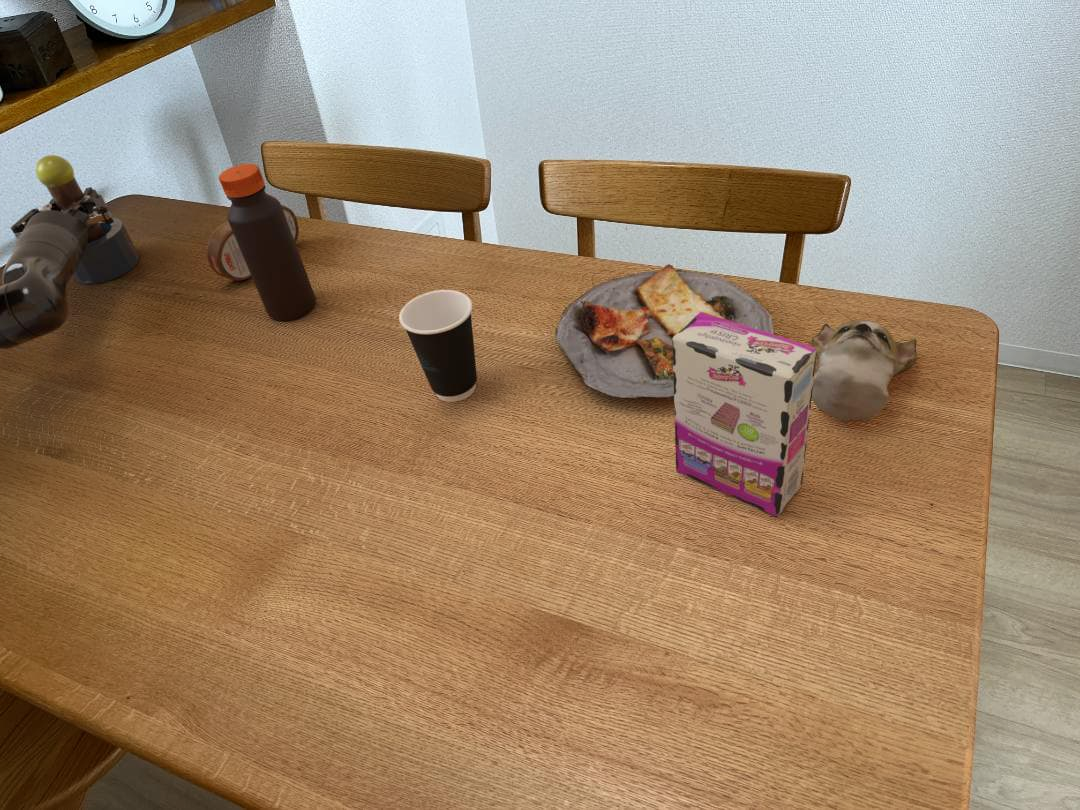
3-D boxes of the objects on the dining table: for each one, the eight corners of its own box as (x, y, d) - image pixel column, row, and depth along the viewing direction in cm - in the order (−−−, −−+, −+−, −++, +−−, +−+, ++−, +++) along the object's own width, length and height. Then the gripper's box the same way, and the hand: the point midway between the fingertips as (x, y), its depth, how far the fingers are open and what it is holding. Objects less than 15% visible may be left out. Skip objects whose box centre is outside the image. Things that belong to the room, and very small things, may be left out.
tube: (98, 289, 122) (79, 255, 119) (61, 277, 127) (41, 243, 123) (152, 257, 128) (135, 223, 124) (114, 246, 133) (97, 213, 129)
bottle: (327, 299, 112) (277, 163, 99) (293, 326, 108) (236, 188, 95) (292, 290, 115) (240, 157, 102) (257, 316, 111) (198, 181, 98)
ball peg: (96, 264, 124) (40, 165, 113) (78, 258, 126) (22, 161, 115) (122, 249, 126) (70, 151, 116) (104, 243, 129) (52, 147, 118)
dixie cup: (497, 368, 95) (481, 289, 88) (478, 413, 89) (459, 333, 82) (434, 365, 97) (413, 288, 90) (412, 409, 91) (387, 330, 84)
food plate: (533, 317, 102) (529, 293, 100) (698, 264, 106) (698, 241, 104) (614, 438, 84) (611, 412, 81) (809, 369, 88) (812, 343, 86)
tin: (295, 239, 127) (277, 189, 121) (309, 243, 125) (291, 193, 119) (218, 288, 118) (195, 237, 113) (231, 293, 116) (208, 241, 111)
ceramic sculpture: (790, 352, 76) (826, 277, 87) (782, 422, 82) (816, 344, 92) (911, 375, 72) (933, 293, 82) (894, 448, 77) (917, 363, 87)
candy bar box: (804, 485, 76) (821, 346, 65) (778, 520, 73) (792, 380, 62) (700, 441, 82) (700, 307, 71) (673, 471, 79) (669, 337, 68)
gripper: (89, 212, 108) (112, 163, 121) (-20, 236, 107) (15, 184, 120) (116, 261, 113) (135, 208, 126) (12, 284, 112) (42, 229, 125)
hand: (76, 196), depth 123 cm, fingers closed on ball peg, 4 cm apart
